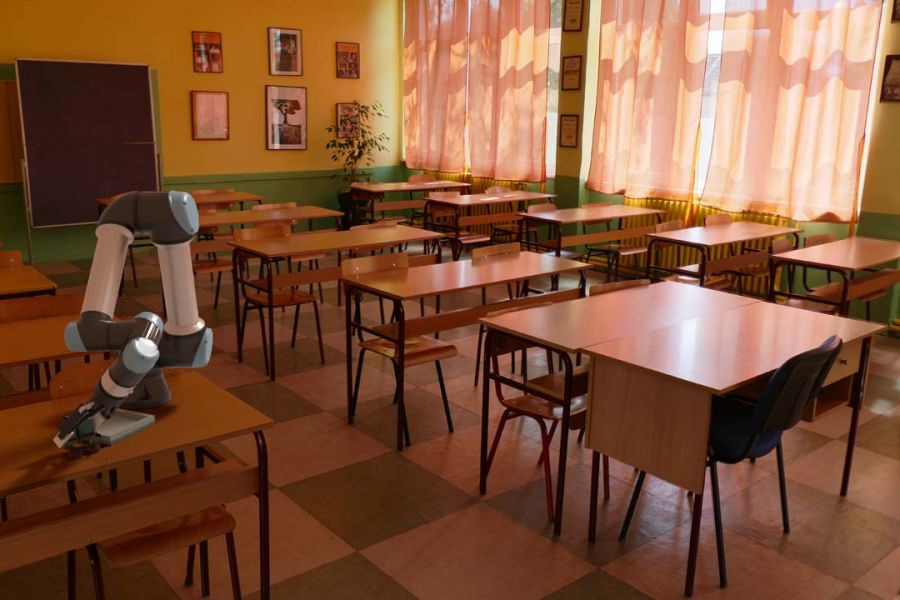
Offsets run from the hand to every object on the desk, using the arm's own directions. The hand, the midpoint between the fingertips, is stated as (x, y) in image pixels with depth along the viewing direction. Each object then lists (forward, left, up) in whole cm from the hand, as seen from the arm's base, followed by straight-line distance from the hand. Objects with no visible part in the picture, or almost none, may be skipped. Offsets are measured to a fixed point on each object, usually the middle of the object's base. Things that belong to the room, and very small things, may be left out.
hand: (73, 436), depth 201 cm
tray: (-14, -2, -4) cm, 15 cm away
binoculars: (0, +3, -4) cm, 5 cm away
